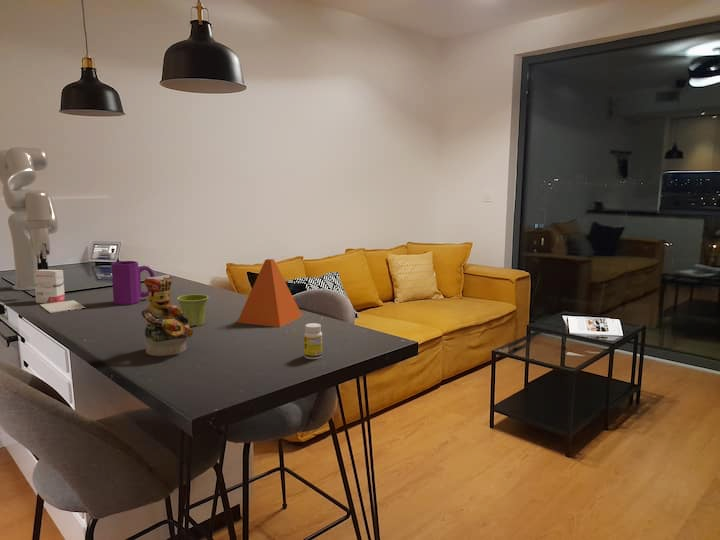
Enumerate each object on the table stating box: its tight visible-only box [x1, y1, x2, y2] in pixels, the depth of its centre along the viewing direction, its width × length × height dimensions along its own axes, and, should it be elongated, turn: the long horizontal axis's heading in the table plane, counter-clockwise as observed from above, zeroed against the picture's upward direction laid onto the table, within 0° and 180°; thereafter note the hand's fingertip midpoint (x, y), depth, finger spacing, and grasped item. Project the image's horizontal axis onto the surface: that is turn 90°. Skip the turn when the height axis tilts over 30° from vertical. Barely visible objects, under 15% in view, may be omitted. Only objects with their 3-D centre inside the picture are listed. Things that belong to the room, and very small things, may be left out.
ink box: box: [34, 269, 66, 304], centre depth 195 cm, size 9×5×12 cm, turn 84°
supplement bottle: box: [303, 322, 323, 360], centre depth 135 cm, size 5×5×8 cm
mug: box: [110, 260, 156, 306], centre depth 197 cm, size 9×16×15 cm, turn 133°
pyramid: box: [236, 258, 303, 328], centre depth 172 cm, size 16×16×20 cm
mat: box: [39, 299, 86, 314], centre depth 188 cm, size 15×11×1 cm
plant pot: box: [176, 293, 209, 327], centre depth 166 cm, size 9×9×9 cm
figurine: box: [140, 274, 194, 357], centre depth 138 cm, size 12×15×20 cm
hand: (43, 273), depth 201 cm, fingers closed
